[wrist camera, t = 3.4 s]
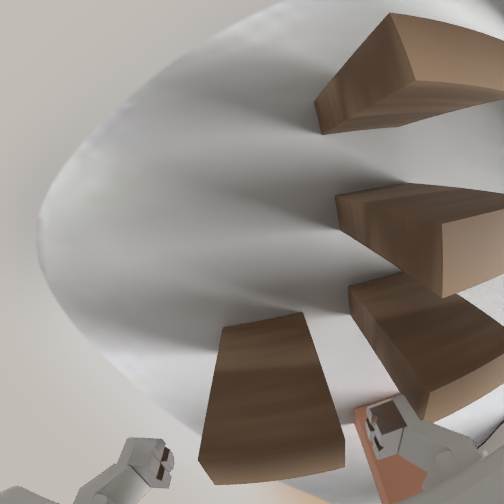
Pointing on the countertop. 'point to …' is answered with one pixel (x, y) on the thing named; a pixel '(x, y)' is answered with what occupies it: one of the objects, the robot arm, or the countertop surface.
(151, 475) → the robot arm
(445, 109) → the domino
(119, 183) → the countertop surface
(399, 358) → the domino
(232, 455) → the domino
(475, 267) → the domino
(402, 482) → the end domino
